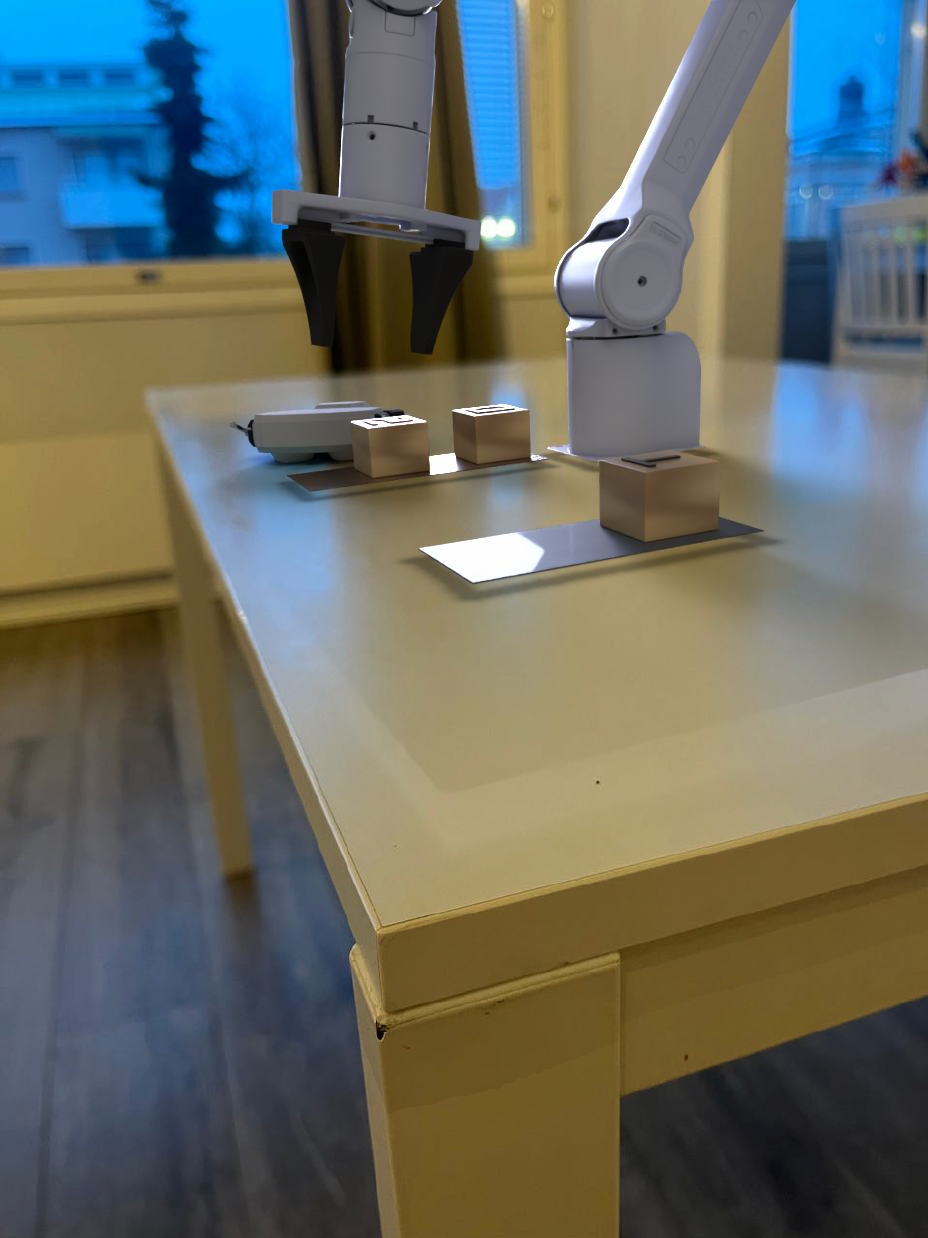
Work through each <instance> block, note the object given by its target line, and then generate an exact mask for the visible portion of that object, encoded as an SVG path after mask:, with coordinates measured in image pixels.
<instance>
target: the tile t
mask: <svg viewBox="0 0 928 1238" xmlns="http://www.w3.org/2000/svg"><path fill="white" fill-rule="evenodd" d="M721 465H722V463H721V461H719V460H716V459H711V458H708V457H707V458H706V457H702V456H698V455H694V454H690V453H685V452H682V451H677V452H676V451H672V450H666V451H658V452H651V453H644V454H637V455H630V456H623V457H615V458H608V459H601V460H599V462H598V479H599V480H598V492H599V493H598V495H599V497H598V499H599V500H598V501H599V502H598V503H599V504H598V505H599V506H598V507H599V508H598V509H599V519H600V525H601V526H604V527H606V528H609V529H612V530H614V531H617V532H619V533H622V534H624V535H627V536H630V537H632V538H635V539H637V540H640V541H642V542H645V543H646V542H652V541H657V540H663V539H669V538H674V537H680V536H686V535H691V534H697V533H702V532H708V531H714V530H718V529H719V517H720V500H721V499H720V497H721V468H722V467H721Z"/></svg>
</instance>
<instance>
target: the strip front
mask: <svg viewBox="0 0 928 1238" xmlns="http://www.w3.org/2000/svg"><path fill="white" fill-rule="evenodd" d="M762 532H765V530H764V529H761V528H758V527H755V526H751V525H749V524H745V523H742V522H738V521H735V520H732V519H729V518H726V517H722V516H719V529H718V530H714V531H708V532H702V533H697V534H691V535H686V536H680V537H674V538H669V539H663V540H657V541H652V542H646V543H645V542H642V541H640V540H637V539H635V538H632V537H630V536H627V535H624V534H622V533H619V532H617V531H614V530H612V529H609V528H606V527H604V526H601V525H600V518H596V519H589V520H584V521H579V522H578V521H577V522H571V523H565V524H559V525H554V526H553V525H552V526H548V527H541V528H534V529H528V530H523V531H516V532H509V533H505V534H499V535H491V536H486V537H479V538H474V539H467V540H462V541H456V542H450V543H449V542H448V543H443V544H438V545H431V546H424V547H419V548H418V551H420V552H422V553H423V554H424V555H426V556H427V557H429V558H431V559H433V560H434V561H435V562H437V563H438V564H440V565H442V566H444V567H445V568H447V569H448V570H450V571H451V572H452V573H454V574H456V575H457V576H459V577H461V578H462V579H464V580H465V581H467V582H469V583H470V584H471V585H477V584H483V583H487V582H492V581H499V580H504V579H508V578H514V577H515V578H516V577H520V576H525V575H531V574H535V573H543V572H547V571H553V570H558V569H563V568H569V567H575V566H579V565H580V566H581V565H586V564H591V563H596V562H603V561H609V560H613V559H614V560H615V559H619V558H623V557H630V556H634V555H641V554H645V553H651V552H657V551H662V550H663V551H664V550H668V549H673V548H674V549H675V548H679V547H684V546H690V545H695V544H696V545H697V544H701V543H707V542H712V541H718V540H722V539H723V540H724V539H728V538H729V539H730V538H734V537H738V536H739V537H740V536H745V535H751V534H757V533H762Z"/></svg>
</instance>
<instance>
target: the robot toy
mask: <svg viewBox="0 0 928 1238" xmlns="http://www.w3.org/2000/svg"><path fill="white" fill-rule="evenodd" d="M405 415H406V416H409V417H413V418H415V417H414V415H413V414H410V413H405V411H404V410H402V409H400V408H391V409H382V407H379V406H371V405H370V404H369V403H368V402H367V401H365V400H364V401H363V400H360V401H359V400H358V401H356V400H355V401H336V402H333V401H332V402H322V403H318V404H317V405H316V406H315V407H314V408H312V409H311V408H310V409H294V410H293V409H292V410H279V411H278V410H277V411H267V412H263V413H257V414H254V418H253V419H250V421H249V422H248V424H247V425H246V426H247V427H246V428H245V427H244V426H242V425H240V424H238V423H237V422H236V421H233V420H232V421H231V420H230V421H229V427H230V428H232V429H233V428H234V429H236V430H238V431H240V432H242V433H244V435H245V436H246V437H247V439H248V442H249V444H250V445H251V447H254V448H256V450H257V451H258V453H260V454H270V455H271V456H272V457H273V458H274V460H275V461H277V462H279V463H299V462H305V461H308V460H311V459H312V458H313V457H314V456H315V454H317V453H327V454H329V456H330V457H331V458H332V459H333V460H335V461H354V458H353V447H352V437H351V427H350V422H352V421H361V420H370V419H379V418H387V417H396V416H405Z"/></svg>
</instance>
